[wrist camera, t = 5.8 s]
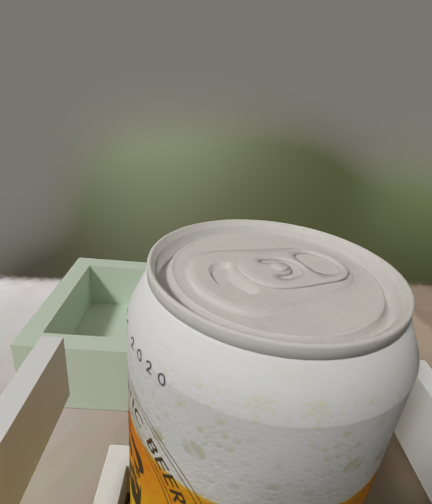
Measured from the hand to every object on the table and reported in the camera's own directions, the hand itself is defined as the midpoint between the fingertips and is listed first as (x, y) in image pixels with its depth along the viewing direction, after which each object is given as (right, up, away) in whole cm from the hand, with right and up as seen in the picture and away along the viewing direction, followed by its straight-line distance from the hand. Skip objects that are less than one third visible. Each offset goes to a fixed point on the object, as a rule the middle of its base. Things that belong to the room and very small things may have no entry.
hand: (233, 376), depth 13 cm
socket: (-7, -3, +13) cm, 15 cm away
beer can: (-1, -9, 0) cm, 9 cm away
